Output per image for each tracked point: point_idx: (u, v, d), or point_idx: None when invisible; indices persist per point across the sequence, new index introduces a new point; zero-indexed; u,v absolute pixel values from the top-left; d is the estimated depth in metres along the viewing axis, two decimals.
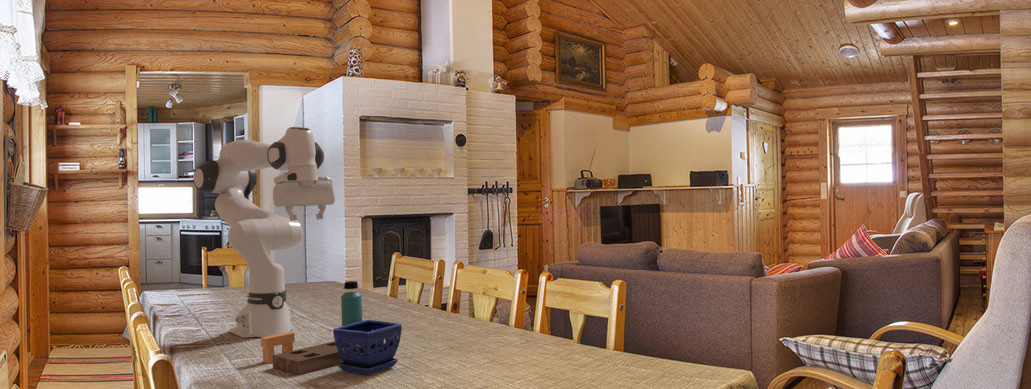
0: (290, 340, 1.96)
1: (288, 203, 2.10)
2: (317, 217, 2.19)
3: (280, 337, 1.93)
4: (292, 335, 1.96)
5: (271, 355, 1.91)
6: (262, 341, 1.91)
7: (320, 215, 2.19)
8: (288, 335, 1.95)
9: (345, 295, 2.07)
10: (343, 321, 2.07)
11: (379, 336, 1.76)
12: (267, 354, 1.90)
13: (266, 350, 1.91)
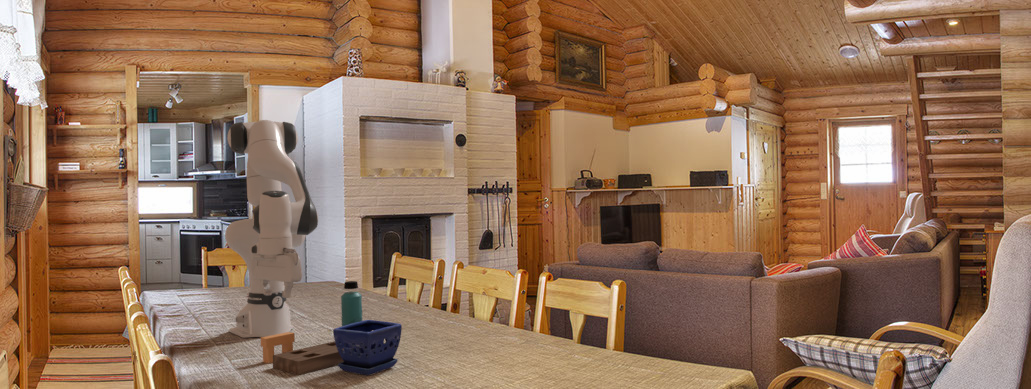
0: (290, 340, 1.96)
1: (257, 276, 1.97)
2: None
3: (280, 337, 1.93)
4: (292, 335, 1.96)
5: (271, 355, 1.91)
6: (262, 341, 1.91)
7: (283, 293, 1.90)
8: (288, 335, 1.95)
9: (345, 295, 2.07)
10: (343, 321, 2.07)
11: (379, 336, 1.76)
12: (267, 354, 1.90)
13: (266, 350, 1.91)
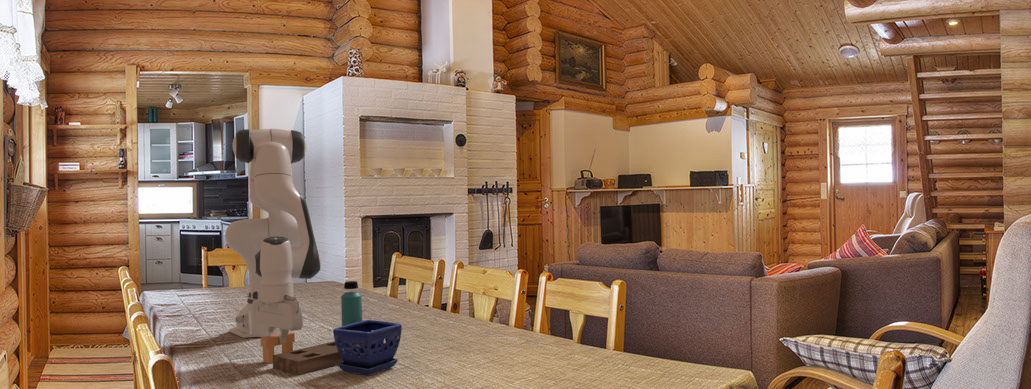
0: (290, 340, 1.96)
1: (258, 322, 1.97)
2: None
3: None
4: (292, 335, 1.96)
5: (271, 355, 1.91)
6: (262, 341, 1.91)
7: (278, 339, 1.92)
8: (288, 335, 1.95)
9: (345, 295, 2.07)
10: (343, 321, 2.07)
11: (379, 336, 1.76)
12: (267, 354, 1.90)
13: (266, 350, 1.91)
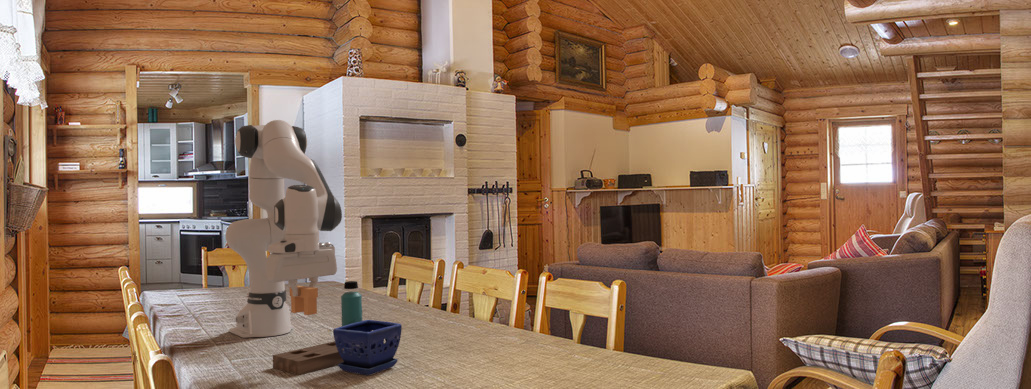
0: None
1: (284, 278, 1.79)
2: None
3: None
4: None
5: None
6: (311, 292, 1.82)
7: None
8: None
9: (345, 295, 2.07)
10: (343, 321, 2.07)
11: (379, 336, 1.76)
12: (314, 305, 1.84)
13: (313, 301, 1.84)
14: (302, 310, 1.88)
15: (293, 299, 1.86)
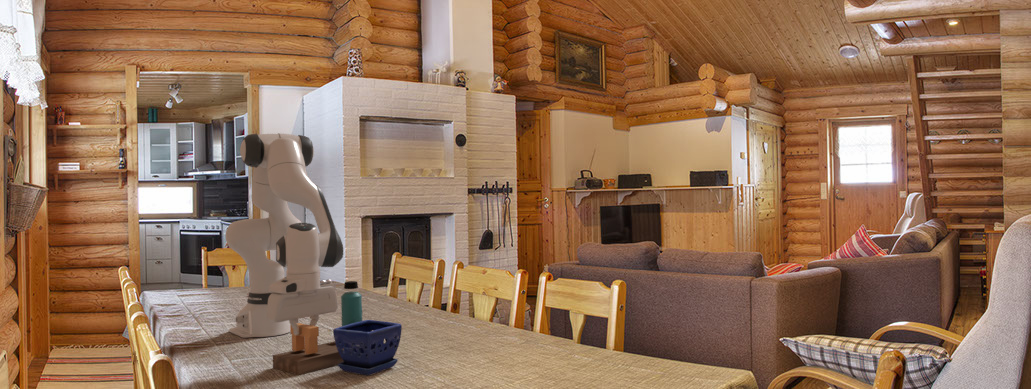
0: None
1: (285, 318, 1.79)
2: None
3: None
4: None
5: None
6: (312, 331, 1.83)
7: None
8: None
9: (345, 295, 2.07)
10: (343, 321, 2.07)
11: (379, 336, 1.76)
12: (315, 343, 1.84)
13: (314, 340, 1.84)
14: (303, 348, 1.88)
15: (294, 337, 1.86)
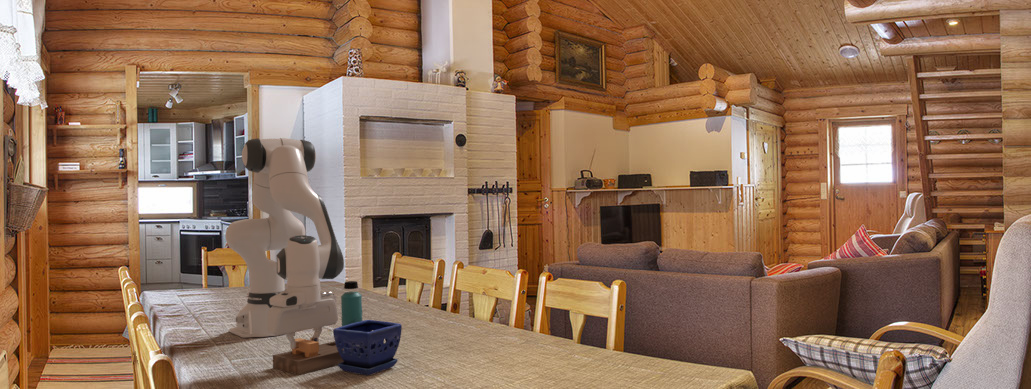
0: None
1: (285, 331, 1.79)
2: None
3: None
4: None
5: None
6: (312, 347, 1.83)
7: (315, 340, 1.88)
8: None
9: (345, 295, 2.07)
10: (343, 321, 2.07)
11: (379, 336, 1.76)
12: None
13: (314, 355, 1.84)
14: None
15: (294, 352, 1.86)
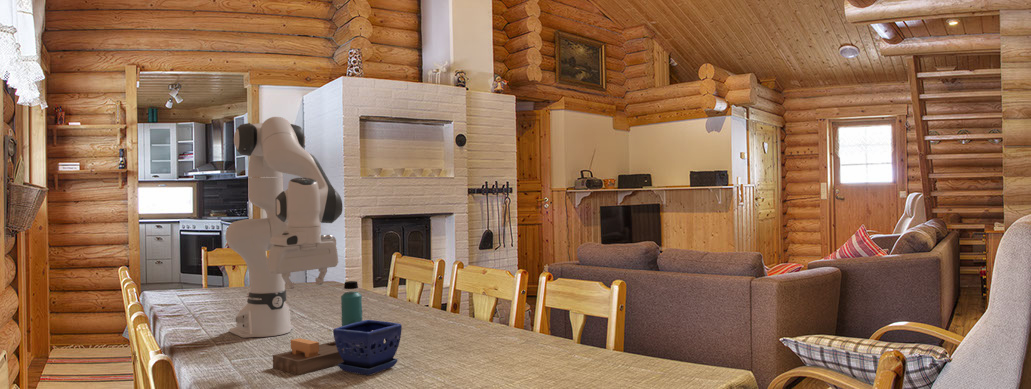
0: None
1: (285, 270, 1.82)
2: (316, 282, 1.91)
3: None
4: None
5: None
6: (312, 347, 1.83)
7: (320, 280, 1.91)
8: None
9: (345, 295, 2.07)
10: (343, 321, 2.07)
11: (379, 336, 1.76)
12: None
13: (314, 355, 1.84)
14: None
15: (294, 352, 1.86)
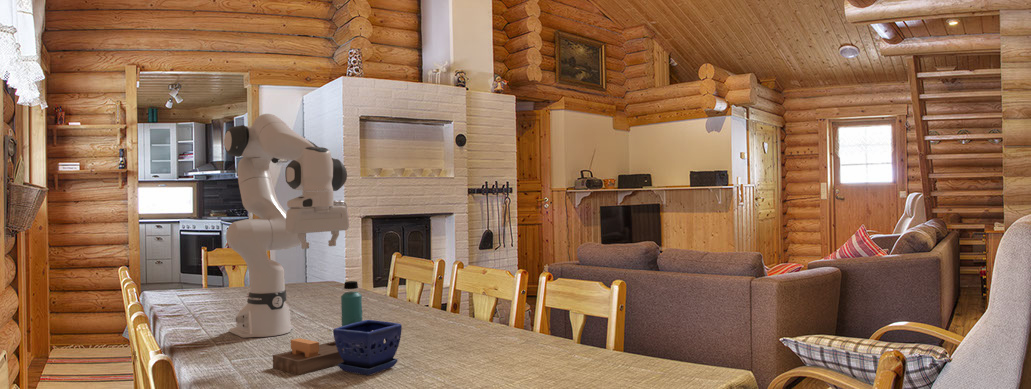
0: None
1: (301, 230, 1.96)
2: (329, 244, 2.06)
3: None
4: None
5: None
6: (313, 347, 1.83)
7: (333, 242, 2.06)
8: None
9: (345, 295, 2.07)
10: (343, 321, 2.07)
11: (379, 336, 1.76)
12: None
13: (314, 355, 1.84)
14: None
15: (294, 352, 1.86)
